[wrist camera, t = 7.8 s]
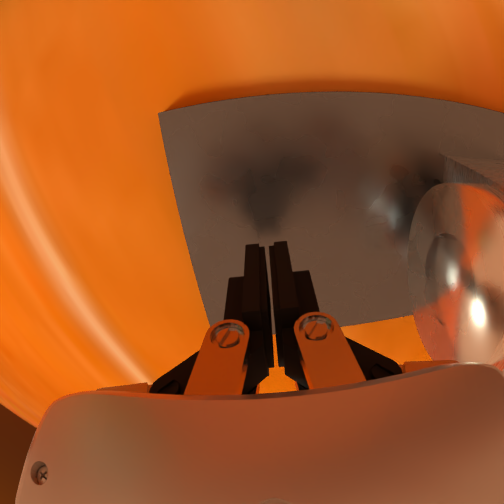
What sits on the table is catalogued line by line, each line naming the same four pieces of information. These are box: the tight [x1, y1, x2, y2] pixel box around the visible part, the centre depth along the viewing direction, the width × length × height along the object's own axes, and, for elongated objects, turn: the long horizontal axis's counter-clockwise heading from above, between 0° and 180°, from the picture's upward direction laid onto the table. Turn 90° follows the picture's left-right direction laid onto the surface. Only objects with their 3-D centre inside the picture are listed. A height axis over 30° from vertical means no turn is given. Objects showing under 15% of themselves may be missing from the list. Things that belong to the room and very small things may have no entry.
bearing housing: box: [158, 92, 504, 373], centre depth 11 cm, size 26×14×10 cm, turn 97°
